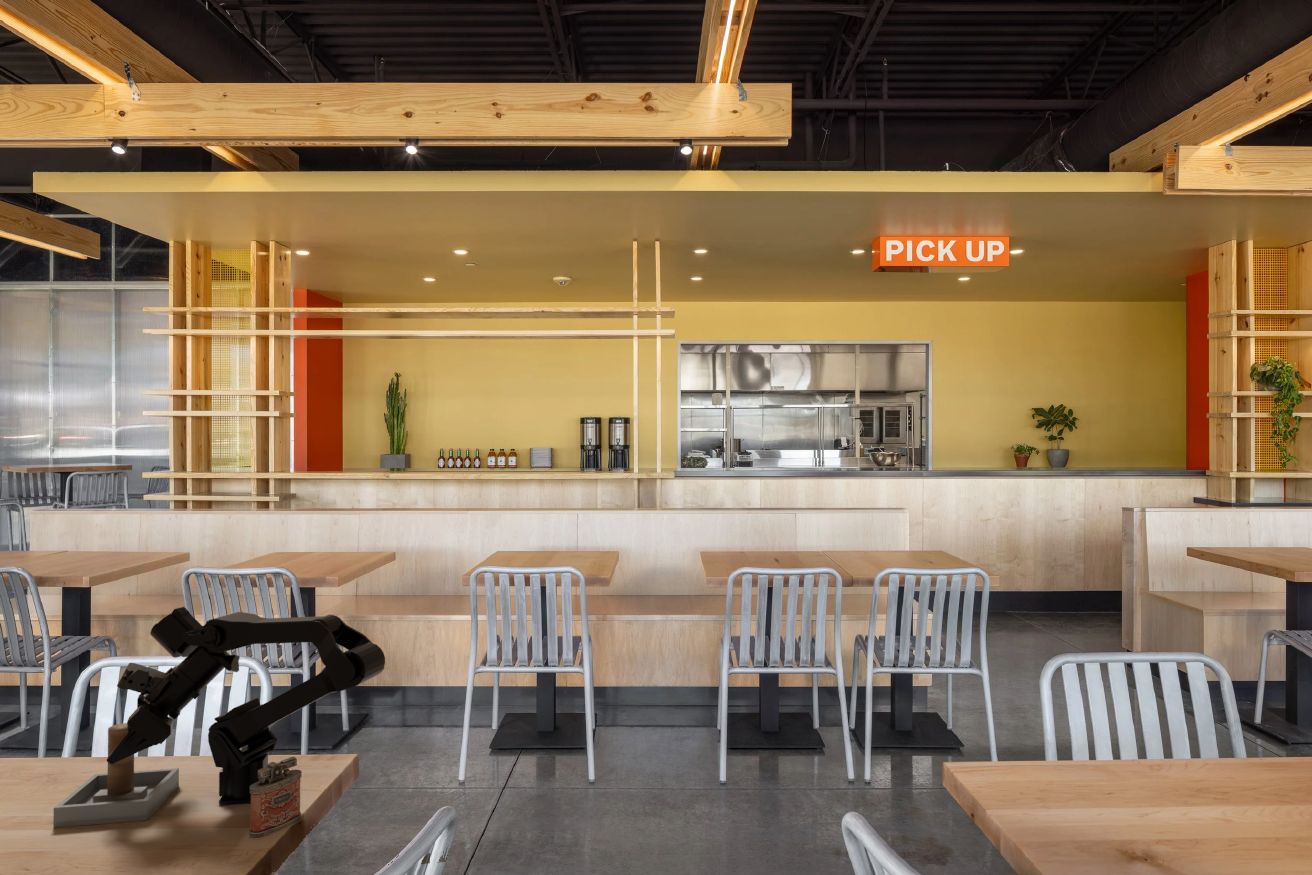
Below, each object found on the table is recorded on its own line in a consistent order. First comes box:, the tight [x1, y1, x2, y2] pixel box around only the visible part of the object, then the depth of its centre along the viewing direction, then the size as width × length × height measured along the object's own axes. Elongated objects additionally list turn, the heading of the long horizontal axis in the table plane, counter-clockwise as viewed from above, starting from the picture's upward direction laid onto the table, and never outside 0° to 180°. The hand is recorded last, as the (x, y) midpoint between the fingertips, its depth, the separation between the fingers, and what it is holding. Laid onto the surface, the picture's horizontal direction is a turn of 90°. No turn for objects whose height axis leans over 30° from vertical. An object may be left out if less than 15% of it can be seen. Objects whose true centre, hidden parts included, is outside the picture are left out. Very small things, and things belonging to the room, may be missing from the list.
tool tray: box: [52, 767, 180, 828], centre depth 130 cm, size 13×13×3 cm
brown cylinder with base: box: [93, 722, 147, 803], centre depth 130 cm, size 7×4×12 cm, turn 102°
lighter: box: [248, 756, 303, 840], centre depth 123 cm, size 8×3×10 cm, turn 148°
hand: (113, 752), depth 130 cm, fingers open, 9 cm apart
